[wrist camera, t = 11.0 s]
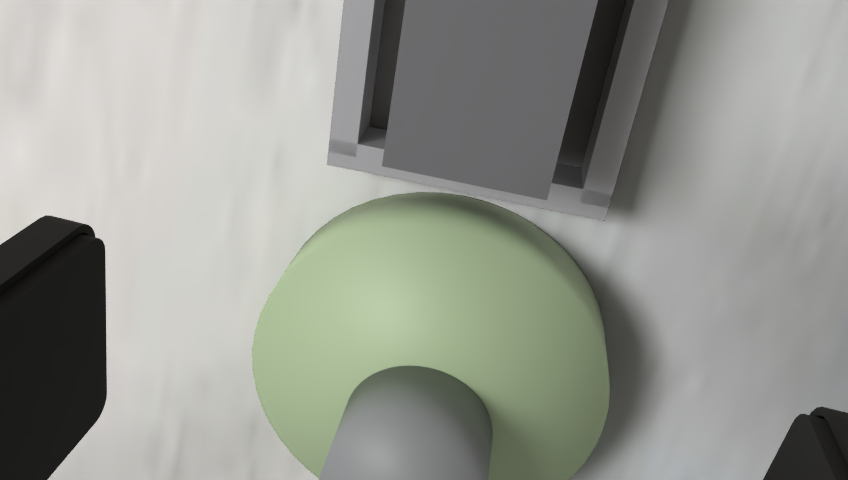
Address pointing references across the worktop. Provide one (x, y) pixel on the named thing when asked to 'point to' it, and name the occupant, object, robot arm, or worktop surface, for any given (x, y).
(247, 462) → the worktop surface
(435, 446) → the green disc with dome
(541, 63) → the grey sliding block
